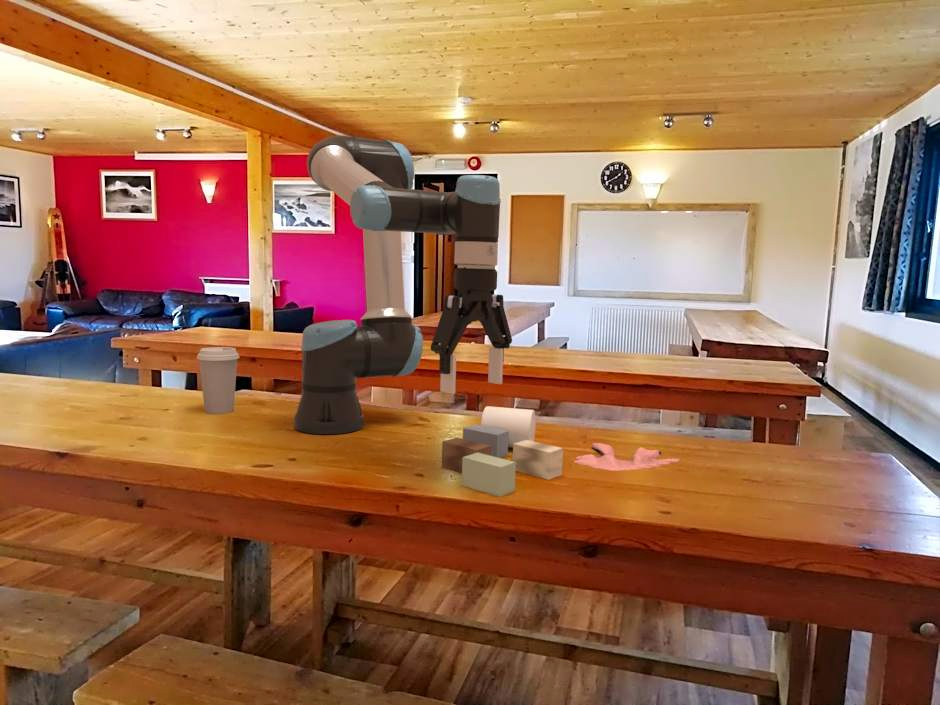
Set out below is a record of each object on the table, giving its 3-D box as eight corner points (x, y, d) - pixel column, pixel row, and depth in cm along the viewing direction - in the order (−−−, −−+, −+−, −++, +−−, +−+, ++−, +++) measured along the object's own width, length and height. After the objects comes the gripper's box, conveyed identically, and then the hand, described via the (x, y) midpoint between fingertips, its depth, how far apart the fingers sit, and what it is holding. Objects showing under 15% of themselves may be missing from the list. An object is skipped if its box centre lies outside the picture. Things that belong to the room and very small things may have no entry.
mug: (528, 454, 134) (530, 414, 133) (479, 449, 136) (480, 410, 135) (537, 439, 145) (539, 402, 144) (492, 435, 148) (493, 399, 147)
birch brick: (512, 470, 123) (513, 443, 123) (525, 465, 126) (526, 439, 126) (548, 480, 118) (550, 452, 117) (561, 475, 121) (562, 448, 120)
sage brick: (461, 486, 114) (462, 457, 113) (476, 480, 117) (477, 452, 116) (500, 497, 109) (501, 467, 108) (514, 491, 112) (515, 462, 111)
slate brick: (462, 452, 134) (463, 428, 133) (474, 448, 137) (474, 424, 136) (496, 460, 129) (497, 434, 128) (507, 456, 132) (508, 431, 132)
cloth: (562, 468, 127) (563, 455, 127) (584, 440, 148) (585, 430, 147) (676, 483, 120) (677, 470, 120) (682, 452, 141) (683, 440, 140)
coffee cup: (232, 416, 158) (230, 352, 156) (191, 414, 158) (189, 351, 156) (245, 407, 167) (245, 347, 166) (207, 406, 168) (206, 346, 166)
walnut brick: (441, 468, 123) (442, 441, 123) (455, 463, 126) (456, 437, 126) (476, 478, 118) (477, 450, 118) (490, 473, 121) (491, 445, 121)
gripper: (445, 266, 106) (442, 400, 109) (533, 268, 125) (528, 382, 128) (410, 265, 111) (408, 393, 113) (500, 267, 130) (496, 377, 133)
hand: (472, 387), depth 121 cm, fingers open, 13 cm apart
